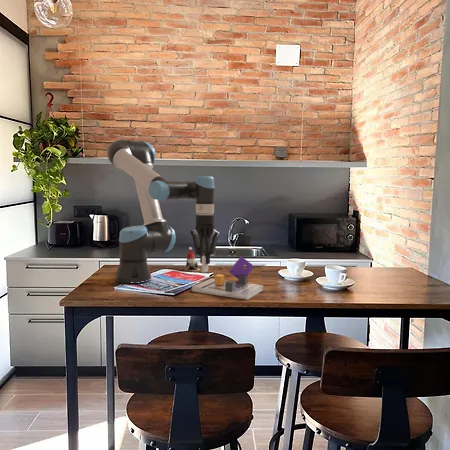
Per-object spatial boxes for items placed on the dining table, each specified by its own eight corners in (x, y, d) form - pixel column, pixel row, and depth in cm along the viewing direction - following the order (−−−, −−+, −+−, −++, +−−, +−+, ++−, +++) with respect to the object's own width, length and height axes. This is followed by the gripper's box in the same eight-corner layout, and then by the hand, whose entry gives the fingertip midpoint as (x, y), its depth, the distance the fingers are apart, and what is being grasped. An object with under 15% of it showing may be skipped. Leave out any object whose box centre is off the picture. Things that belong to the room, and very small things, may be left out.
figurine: (198, 265, 203) (183, 247, 208) (188, 279, 207) (173, 261, 212) (209, 262, 210) (194, 245, 214) (198, 276, 214) (184, 259, 219)
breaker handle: (214, 284, 173) (214, 275, 172) (218, 282, 175) (218, 274, 175) (221, 285, 171) (221, 276, 171) (224, 283, 174) (224, 275, 174)
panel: (192, 291, 170) (192, 277, 170) (211, 283, 184) (211, 270, 184) (247, 299, 160) (247, 285, 159) (263, 290, 174) (263, 276, 173)
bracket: (244, 279, 177) (254, 266, 178) (231, 269, 177) (241, 256, 179) (240, 281, 189) (249, 268, 190) (228, 271, 189) (237, 259, 190)
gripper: (186, 214, 173) (186, 271, 175) (214, 215, 167) (214, 274, 170) (195, 213, 180) (196, 268, 182) (223, 214, 174) (223, 271, 176)
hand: (205, 271), depth 176 cm, fingers closed
